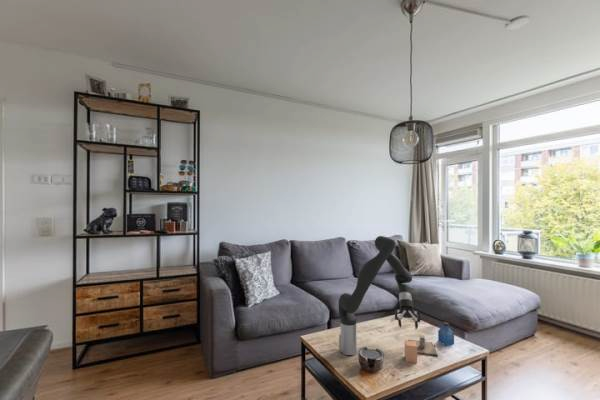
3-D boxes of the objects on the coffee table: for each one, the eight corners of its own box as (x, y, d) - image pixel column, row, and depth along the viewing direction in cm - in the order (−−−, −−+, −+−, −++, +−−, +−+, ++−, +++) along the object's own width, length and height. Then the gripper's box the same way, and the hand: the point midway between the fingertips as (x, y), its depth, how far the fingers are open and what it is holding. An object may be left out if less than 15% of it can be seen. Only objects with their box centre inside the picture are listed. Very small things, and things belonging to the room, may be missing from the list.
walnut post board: (411, 353, 161) (411, 340, 161) (408, 341, 175) (408, 330, 175) (437, 356, 158) (437, 343, 158) (432, 343, 171) (432, 332, 171)
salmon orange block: (406, 361, 153) (405, 345, 153) (404, 356, 158) (404, 340, 158) (417, 362, 151) (416, 346, 151) (415, 357, 157) (415, 341, 157)
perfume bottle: (445, 339, 177) (445, 320, 177) (454, 343, 172) (454, 324, 172) (438, 340, 175) (438, 321, 175) (446, 345, 169) (446, 325, 169)
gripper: (394, 297, 173) (396, 323, 162) (418, 299, 170) (422, 326, 158) (393, 303, 178) (395, 329, 167) (417, 304, 175) (420, 331, 164)
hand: (408, 327), depth 163 cm, fingers open, 8 cm apart
